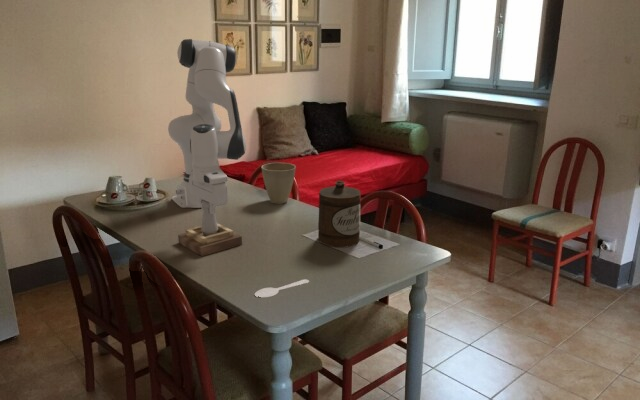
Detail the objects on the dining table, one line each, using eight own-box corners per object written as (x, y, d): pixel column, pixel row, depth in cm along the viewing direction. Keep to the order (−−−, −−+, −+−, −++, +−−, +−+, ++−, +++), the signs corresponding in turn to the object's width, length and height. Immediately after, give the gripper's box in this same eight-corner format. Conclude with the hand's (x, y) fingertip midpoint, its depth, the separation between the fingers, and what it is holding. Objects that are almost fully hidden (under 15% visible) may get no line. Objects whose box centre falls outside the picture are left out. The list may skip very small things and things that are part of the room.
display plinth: (178, 242, 186) (177, 229, 184) (218, 232, 196) (217, 219, 195) (201, 256, 174) (200, 242, 173) (242, 244, 185) (241, 231, 183)
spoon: (313, 284, 155) (313, 283, 155) (259, 301, 146) (259, 299, 146) (303, 278, 160) (303, 276, 159) (250, 293, 150) (250, 291, 150)
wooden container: (341, 251, 180) (342, 189, 173) (309, 240, 189) (309, 181, 183) (367, 239, 190) (369, 180, 184) (336, 229, 200) (337, 173, 193)
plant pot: (256, 204, 230) (255, 168, 225) (271, 195, 243) (270, 161, 238) (287, 208, 224) (286, 171, 220) (301, 198, 238) (301, 164, 233)
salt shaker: (206, 239, 180) (204, 203, 177) (198, 235, 185) (196, 199, 181) (221, 235, 184) (219, 200, 180) (213, 231, 188) (211, 196, 184)
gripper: (182, 169, 183) (185, 206, 187) (213, 180, 168) (215, 221, 173) (199, 166, 187) (201, 203, 191) (230, 177, 173) (232, 217, 177)
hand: (208, 212), depth 182 cm, fingers closed on salt shaker, 3 cm apart
